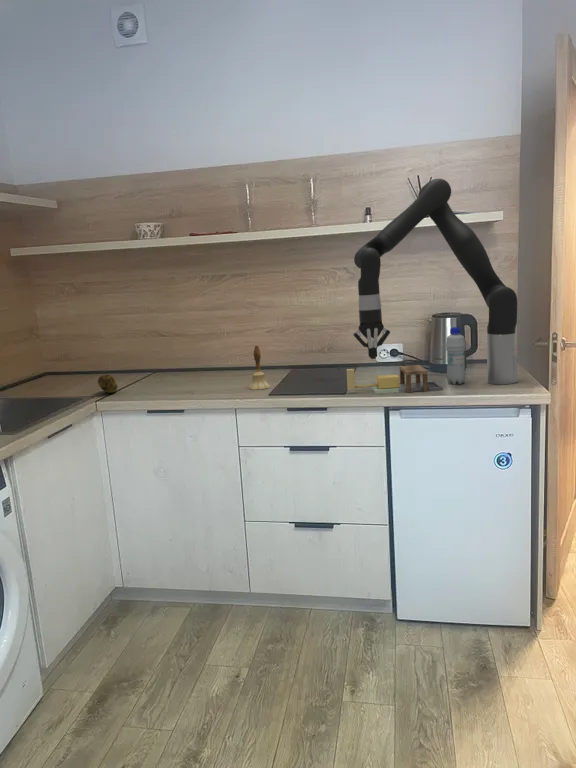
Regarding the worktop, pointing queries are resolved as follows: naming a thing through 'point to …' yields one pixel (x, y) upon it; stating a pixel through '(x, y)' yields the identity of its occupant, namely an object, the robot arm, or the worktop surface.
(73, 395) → the worktop surface
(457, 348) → the bottle
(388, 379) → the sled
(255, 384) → the hand bell
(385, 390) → the track
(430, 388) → the pit
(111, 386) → the potato
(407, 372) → the small wooden table
